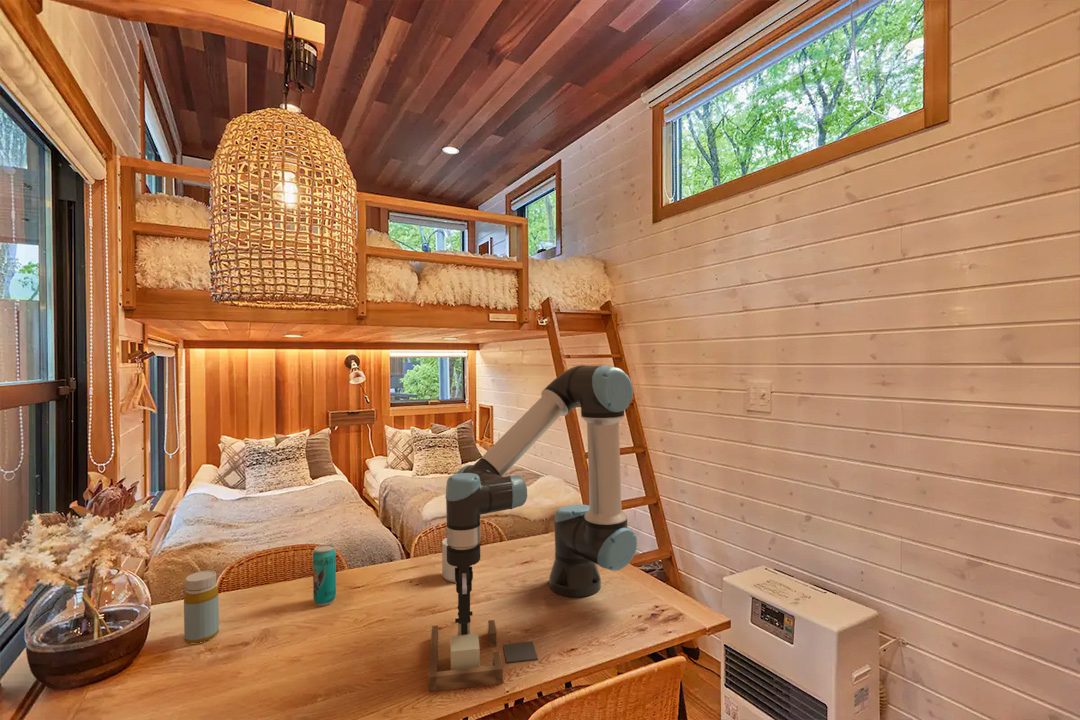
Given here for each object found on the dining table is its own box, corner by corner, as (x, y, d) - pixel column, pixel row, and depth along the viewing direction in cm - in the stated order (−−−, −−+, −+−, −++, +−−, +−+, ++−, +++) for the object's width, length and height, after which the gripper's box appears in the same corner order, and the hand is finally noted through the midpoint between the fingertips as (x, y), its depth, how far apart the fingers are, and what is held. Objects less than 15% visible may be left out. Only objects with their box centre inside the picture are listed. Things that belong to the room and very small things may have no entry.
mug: (472, 582, 155) (471, 545, 154) (442, 584, 153) (441, 547, 153) (470, 565, 166) (470, 531, 166) (442, 567, 165) (442, 533, 165)
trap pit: (532, 642, 122) (532, 641, 122) (537, 659, 115) (537, 658, 115) (503, 645, 121) (503, 644, 121) (506, 663, 114) (506, 661, 114)
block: (478, 660, 115) (477, 633, 115) (479, 676, 109) (479, 648, 109) (450, 663, 114) (450, 636, 114) (450, 679, 108) (450, 651, 108)
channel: (494, 632, 127) (494, 619, 127) (502, 683, 107) (502, 668, 107) (432, 638, 124) (431, 625, 124) (428, 691, 104) (428, 677, 104)
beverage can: (308, 605, 141) (308, 550, 141) (324, 595, 146) (324, 543, 146) (325, 608, 139) (324, 553, 139) (340, 599, 144) (340, 545, 144)
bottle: (225, 632, 127) (224, 571, 127) (198, 647, 121) (197, 583, 121) (205, 627, 130) (204, 568, 130) (177, 642, 123) (176, 579, 123)
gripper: (446, 534, 122) (447, 634, 122) (446, 556, 109) (447, 666, 110) (478, 532, 123) (479, 630, 124) (482, 553, 110) (482, 663, 111)
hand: (464, 647), depth 117 cm, fingers closed
